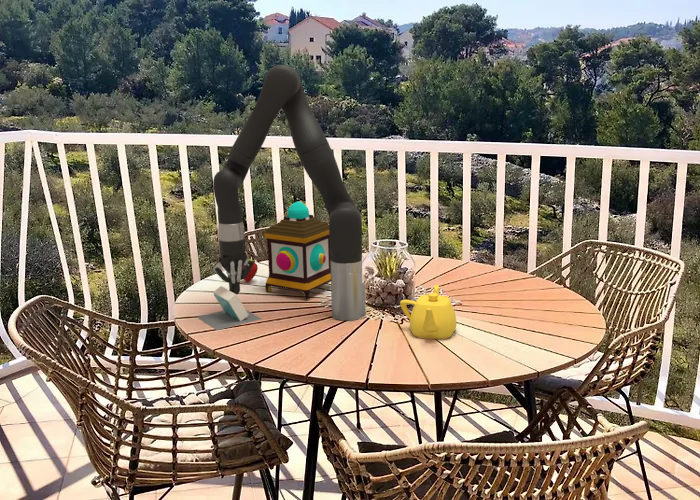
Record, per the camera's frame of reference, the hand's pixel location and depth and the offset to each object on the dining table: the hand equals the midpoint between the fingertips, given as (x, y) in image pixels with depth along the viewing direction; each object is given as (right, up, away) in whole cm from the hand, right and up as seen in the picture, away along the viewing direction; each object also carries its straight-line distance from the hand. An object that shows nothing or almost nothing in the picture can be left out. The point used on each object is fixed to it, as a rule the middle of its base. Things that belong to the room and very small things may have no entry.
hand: (235, 294), depth 195 cm
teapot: (+56, -10, -12) cm, 58 cm away
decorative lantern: (+18, 0, +26) cm, 32 cm away
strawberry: (-2, +2, +35) cm, 35 cm away
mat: (-2, -7, 0) cm, 8 cm away
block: (0, -6, +1) cm, 6 cm away
